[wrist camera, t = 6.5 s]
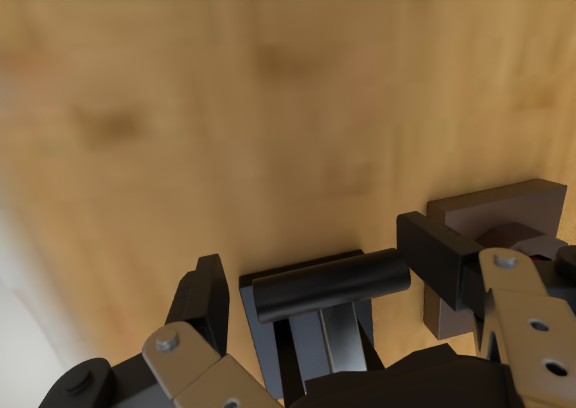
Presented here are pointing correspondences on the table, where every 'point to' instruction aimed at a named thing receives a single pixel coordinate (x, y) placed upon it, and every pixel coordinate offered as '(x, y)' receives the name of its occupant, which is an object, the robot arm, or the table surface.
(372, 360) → the switch bracket
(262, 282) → the switch lever
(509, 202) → the button block
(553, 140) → the table surface
